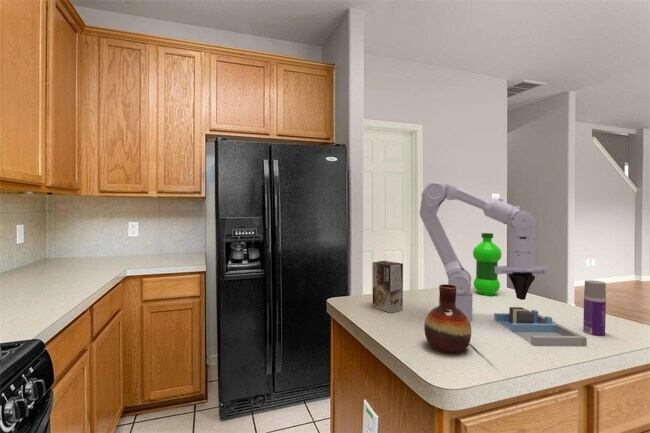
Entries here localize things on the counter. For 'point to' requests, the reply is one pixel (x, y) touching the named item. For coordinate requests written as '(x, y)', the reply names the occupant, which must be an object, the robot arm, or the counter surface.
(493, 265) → the plastic bottle
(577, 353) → the counter surface
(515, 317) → the dark striped block
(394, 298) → the coffee box
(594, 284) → the container
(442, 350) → the vase
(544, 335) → the board
